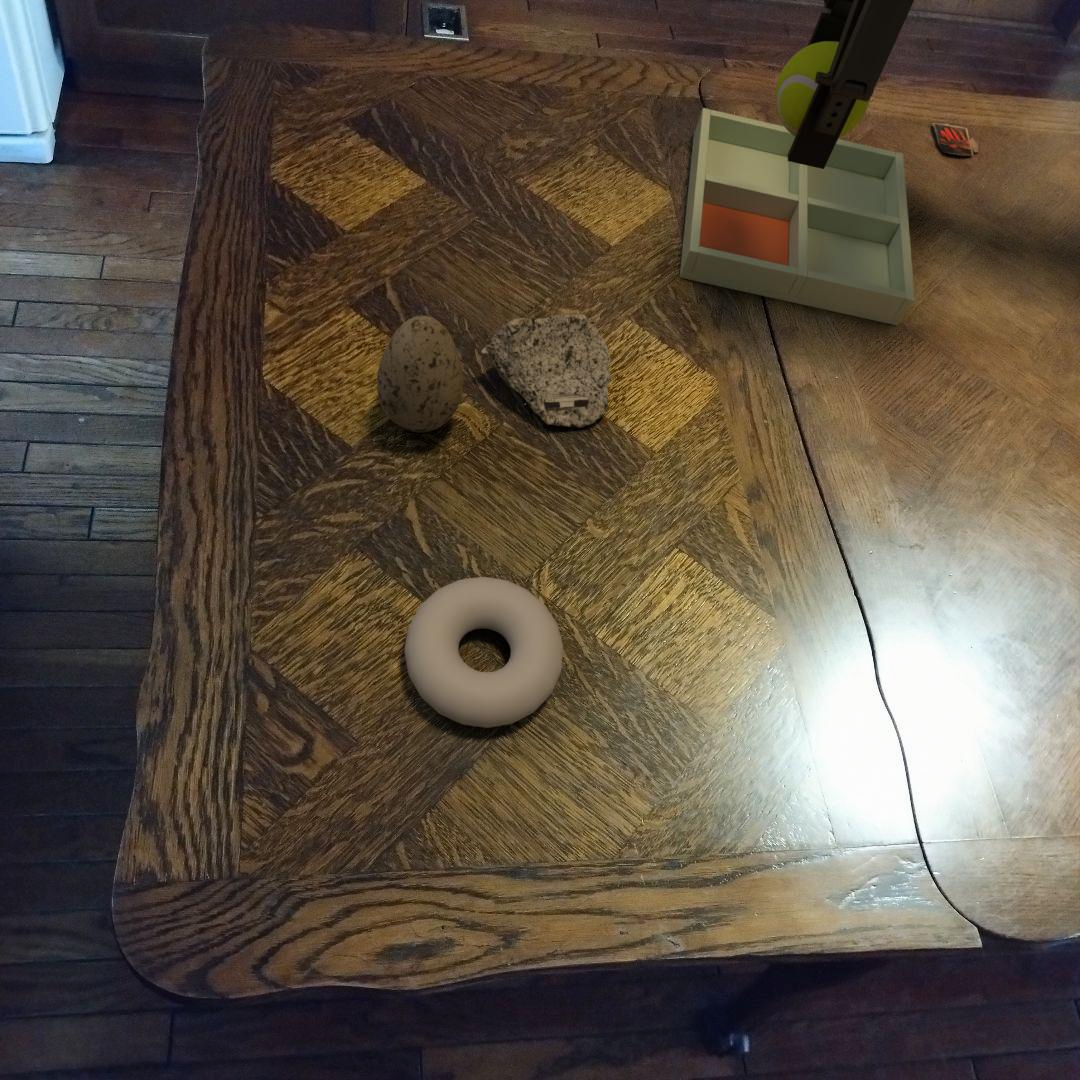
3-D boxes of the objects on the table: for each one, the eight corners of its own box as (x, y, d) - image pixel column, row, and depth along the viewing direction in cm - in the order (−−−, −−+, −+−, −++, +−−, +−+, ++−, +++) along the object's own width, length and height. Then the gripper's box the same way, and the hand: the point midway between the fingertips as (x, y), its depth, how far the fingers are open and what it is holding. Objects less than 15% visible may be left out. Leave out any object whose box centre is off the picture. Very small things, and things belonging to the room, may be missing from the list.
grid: (888, 180, 95) (903, 153, 92) (898, 326, 85) (915, 300, 82) (693, 135, 94) (702, 107, 91) (679, 277, 84) (689, 250, 81)
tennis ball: (865, 143, 74) (906, 61, 68) (811, 175, 71) (849, 92, 66) (799, 93, 76) (834, 10, 70) (743, 123, 73) (775, 38, 68)
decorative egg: (434, 463, 70) (443, 372, 62) (361, 428, 71) (360, 333, 62) (472, 407, 73) (486, 312, 65) (401, 374, 74) (406, 276, 66)
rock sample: (548, 436, 68) (550, 306, 67) (475, 431, 74) (475, 310, 72) (644, 431, 75) (647, 313, 74) (571, 426, 81) (573, 317, 79)
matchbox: (944, 158, 98) (946, 154, 98) (923, 124, 100) (925, 120, 100) (984, 156, 99) (986, 152, 99) (962, 123, 102) (964, 119, 101)
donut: (429, 575, 66) (382, 709, 60) (433, 548, 63) (383, 687, 58) (573, 617, 66) (538, 755, 60) (583, 592, 63) (547, 735, 58)
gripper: (889, -317, 59) (759, 43, 78) (909, -165, 49) (753, 206, 68) (1009, -287, 59) (850, 64, 79) (1053, -129, 49) (858, 229, 69)
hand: (805, 129), depth 73 cm, fingers closed on tennis ball, 7 cm apart
